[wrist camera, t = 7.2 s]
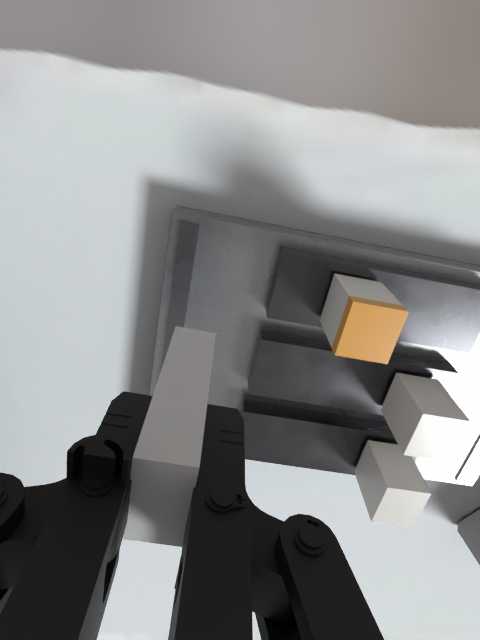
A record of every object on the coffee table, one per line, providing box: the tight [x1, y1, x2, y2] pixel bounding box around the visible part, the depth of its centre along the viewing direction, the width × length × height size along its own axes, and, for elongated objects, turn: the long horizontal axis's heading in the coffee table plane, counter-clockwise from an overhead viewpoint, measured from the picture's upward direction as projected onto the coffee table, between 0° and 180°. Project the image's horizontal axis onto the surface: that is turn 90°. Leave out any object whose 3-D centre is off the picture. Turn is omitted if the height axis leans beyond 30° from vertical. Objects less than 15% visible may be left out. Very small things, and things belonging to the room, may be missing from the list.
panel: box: [149, 206, 480, 486], centre depth 30 cm, size 28×18×4 cm, turn 79°
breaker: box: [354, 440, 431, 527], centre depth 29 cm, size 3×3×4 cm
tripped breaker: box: [320, 273, 409, 364], centre depth 23 cm, size 3×3×4 cm
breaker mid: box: [381, 373, 471, 462], centre depth 26 cm, size 3×3×4 cm
